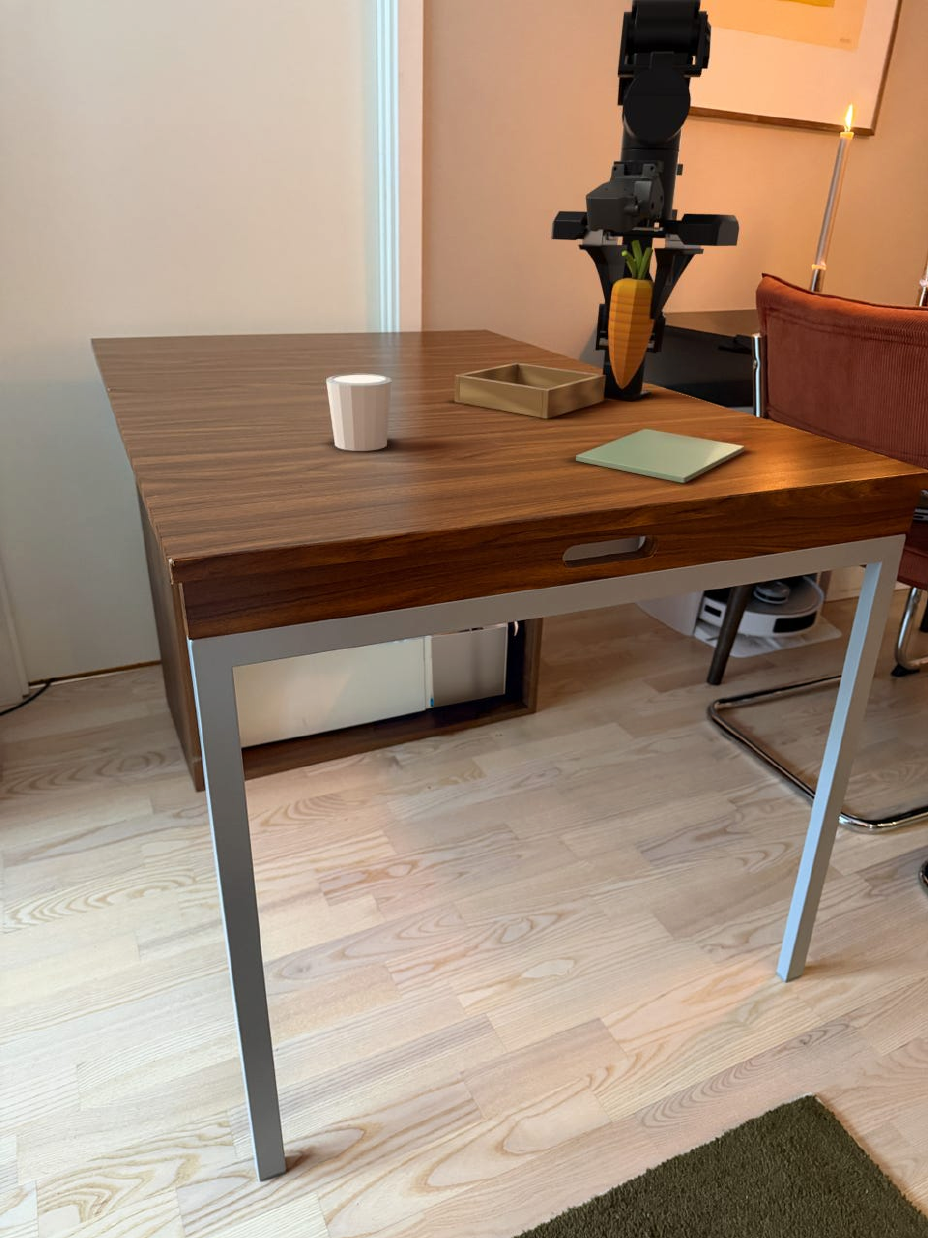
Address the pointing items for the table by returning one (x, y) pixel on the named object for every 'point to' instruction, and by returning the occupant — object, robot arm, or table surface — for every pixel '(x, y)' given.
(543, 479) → the table surface
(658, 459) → the board
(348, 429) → the white cup
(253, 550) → the table surface
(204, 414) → the table surface
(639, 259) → the carrot
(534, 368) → the wooden tray
